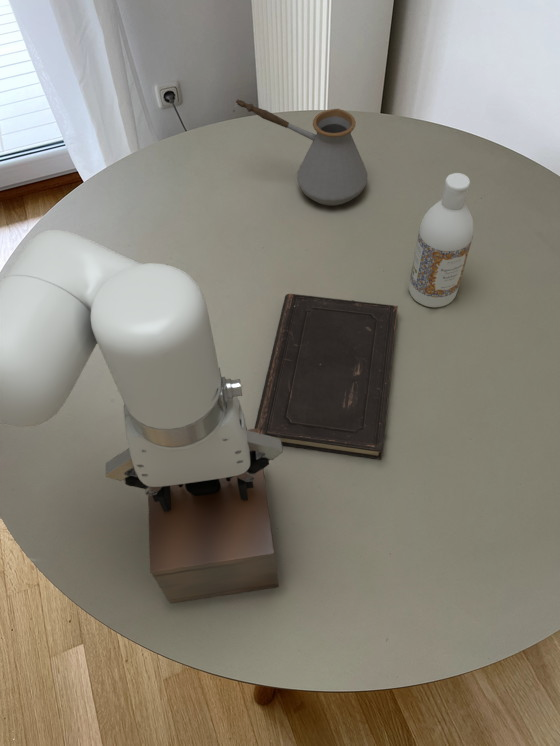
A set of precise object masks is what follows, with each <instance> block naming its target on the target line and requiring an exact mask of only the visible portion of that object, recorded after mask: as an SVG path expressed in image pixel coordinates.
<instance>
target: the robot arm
mask: <svg viewBox="0 0 560 746" xmlns="http://www.w3.org/2000/svg"><path fill="white" fill-rule="evenodd" d="M97 345H98V347H99V350H100V352H101V354H102V356H103V359H104V361H105V364H106V366H107V368H108V370H109V374H111V375H110V376H111V377H112V380H113V381H114V384H115V386H116V388H117V390H118V391H117V392H118V393H119V395H120V397H121V400H122V401H123V422H124V431H125V436H126V442H127V446H128V448H127V449H125V450H123V451H122V452H120V453H118V454H117V455H116V456H114V457H113V458H111V459H110V460H108V461H106V462H105V477H106V478H109V479H112V480H114V481H118V482H122V481H123V482H124V485H126V486H129V487H133V488H138V489H142V490H144V494H145V495H146V496H148V495H152V497H153V499H154V501H155V502H158V501H159V502H160V505H161V507H162V509H163V511H164V512H169V511H170V510H171V490H170V485H178V484H185V483H193V482H200V481H207V480H213V479H220V478H226V477H232V476H235V477H237V482H238V488H239V493H240V497H241V500H243V501H246V500H248V494H247V489H249V488H254V487H253V480H254V479H255V475H254V474H255V473H257V472H258V471H260V470H262V469H263V470H264V468H267V467H268V466H269V465H270V461H273V460H274V459H276V458H278V457H279V456H280V455H282V453H283V452H284V449H283V445H282V442H281V439H280V438H276V437H272V436H268V435H264V434H260V433H257V432H253V431H249V429H248V427H247V423H246V422H247V421H246V417H245V415H244V410H243V408H242V405H241V403H240V402H241V401H240V400H239V398H238V397H242V396H243V391H242V384H241V383H242V382H241V379H240V378H237V379H232V378H226V376H222V372H221V368H220V367H219V362H218V357H217V350H216V345H215V341H214V335H213V330H212V324H211V319H210V315H209V309H208V305H207V301H206V297H205V295H204V293H203V291H202V289H201V288H200V285H199V284H198V283H197V282H196V281H195V280H194V278H192V276H190V275H189V274H188V273H187V272H185V271H184V270H183V269H180V268H178V267H175V266H172V265H169V264H166V263H158V262H148V263H142V262H139V261H137V260H135V259H133V258H130V257H128V256H125V255H123V254H121V253H118V252H117V251H114V250H113V249H110V248H108V247H106V246H105V245H102V244H100V243H98V242H96V241H94V240H92V239H90V238H88V237H85V236H83V235H80V234H77V233H74V232H72V231H67V230H63V229H47V230H44V231H41V232H39V233H37V234H35V236H33V237H32V238H30V240H29V241H27V243H26V244H25V245H24V247H23V248H22V249H21V251H20V252H19V253H18V255H17V256H16V257H15V259H14V261H13V262H12V264H11V266H10V267H9V268H8V270H7V271H6V273H4V276H2V278H1V280H0V424H3V425H6V426H11V427H16V428H27V427H36V426H38V425H42V424H44V423H45V422H48V421H49V420H51V419H52V418H53V417H54V416H56V415H57V414H58V412H59V411H60V410H61V409H62V407H63V406H64V405H65V403H66V401H67V400H68V398H69V396H70V394H71V393H72V391H73V389H74V388H75V386H76V384H77V382H78V380H79V378H80V377H81V374H82V373H83V371H84V369H85V367H86V365H87V363H88V361H89V359H90V357H91V355H92V354H93V352H94V349H95V348H96V346H97ZM250 450H252V451H250Z"/></svg>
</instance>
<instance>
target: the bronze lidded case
mask: <svg viewBox="0 0 560 746" xmlns="http://www.w3.org/2000/svg"><path fill="white" fill-rule="evenodd" d="M248 430H249V431H253V432H257V433H258V429H257V428H256V429H254V428H250V429H248ZM250 451H252V450H250ZM254 475H255V479H254V480H253V487H254V488H249V489H247V494H248V500H246V501H243V500H241V497H240V493H239V488H238V482H237V477H235V476H234V477H232V478H230V479H231V480H230V481H229V482H228V481H227V480H226V478H220V479H219V481H220V486H221V487H220V490H219V491H218V492H217V493H216V494H210V495H201V496H194V495H192V494H191V493H189V492H188V491H187V490H186V487H185V484H183V486H182V487H179V485H170V490H171V510H170V511H169V512H164V511H163V509H162V507H161V505H160V502H159V501H158V502H155V501H154V499H153V497H152V495H147V501H148V502H147V504H148V505H147V506H148V538H149V539H148V541H149V572H150V575H152V577H153V579H154V580H155V582H156V584H157V585H158V586H159V588H160V589H161V591H162V593H163V594H164V595H165V598H166V599H167V600H168V602H169V603H170V604H173V603H181V602H187V601H195V600H200V599H201V600H202V599H206V598H207V599H208V598H214V597H221V596H227V595H234V594H241V593H247V592H253V591H254V592H255V591H260V590H266V589H274V588H279V577H278V570H277V568H278V567H277V562H276V553H275V546H274V539H273V531H272V525H271V524H272V523H271V517H270V509H269V502H268V494H267V487H266V481H265V472H264V468H263V469H262V470H260V471H258V472H257V473H255V474H254Z"/></svg>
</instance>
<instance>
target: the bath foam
mask: <svg viewBox="0 0 560 746" xmlns="http://www.w3.org/2000/svg"><path fill="white" fill-rule="evenodd" d="M470 185H471V180H470V178H469V177H468V176H467V175H466V174H464V173H462V172H461V173H460V172H454V173H450V174H449V175H447V176H446V177H445V181H444V186H443V190H442V194H441V199H440V200H439V201H437V202H436V203H435V204H434V205H432V206H431V207H430V208H429V209H428V210H427V211H426V213H425V214H424V216H423V217H422V220H421V223H420V225H419V228H418V233H417V238H416V244H415V250H414V255H413V260H412V265H411V270H410V277H409V282H408V291H409V294H410V296H411V297H412V299H413V300H414V301H415V302H417V303H418V304H420V305H422V306H424V307H428V308H442V307H444V306H447V305H450V303H452V302H453V301H454V300H455V298H456V296H457V294H458V291H459V287H460V284H461V280H462V277H463V273H464V269H465V266H466V263H467V259H468V255H469V253H470V249H471V245H472V242H473V237H474V220H473V216H472V214H471V211H470V210H469V208H468V206H467V205H466V201H467V197H468V193H469V189H470Z"/></svg>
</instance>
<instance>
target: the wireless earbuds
mask: <svg viewBox="0 0 560 746" xmlns="http://www.w3.org/2000/svg"><path fill="white" fill-rule="evenodd" d="M232 477H234V476H232ZM232 477H226V480H227V481H228V482H229V481H230V480H231V479H230V478H232ZM178 485H179V487H182V486H183V484H178ZM185 487H186V490H187V491H188V492H189V493H191V494H192V495H194V496H201V495H210V494H216V493H217V492H218V491H219V490H220V487H221V486H220V481H219V479H213V480H207V481H200V482H193V483H185Z"/></svg>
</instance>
